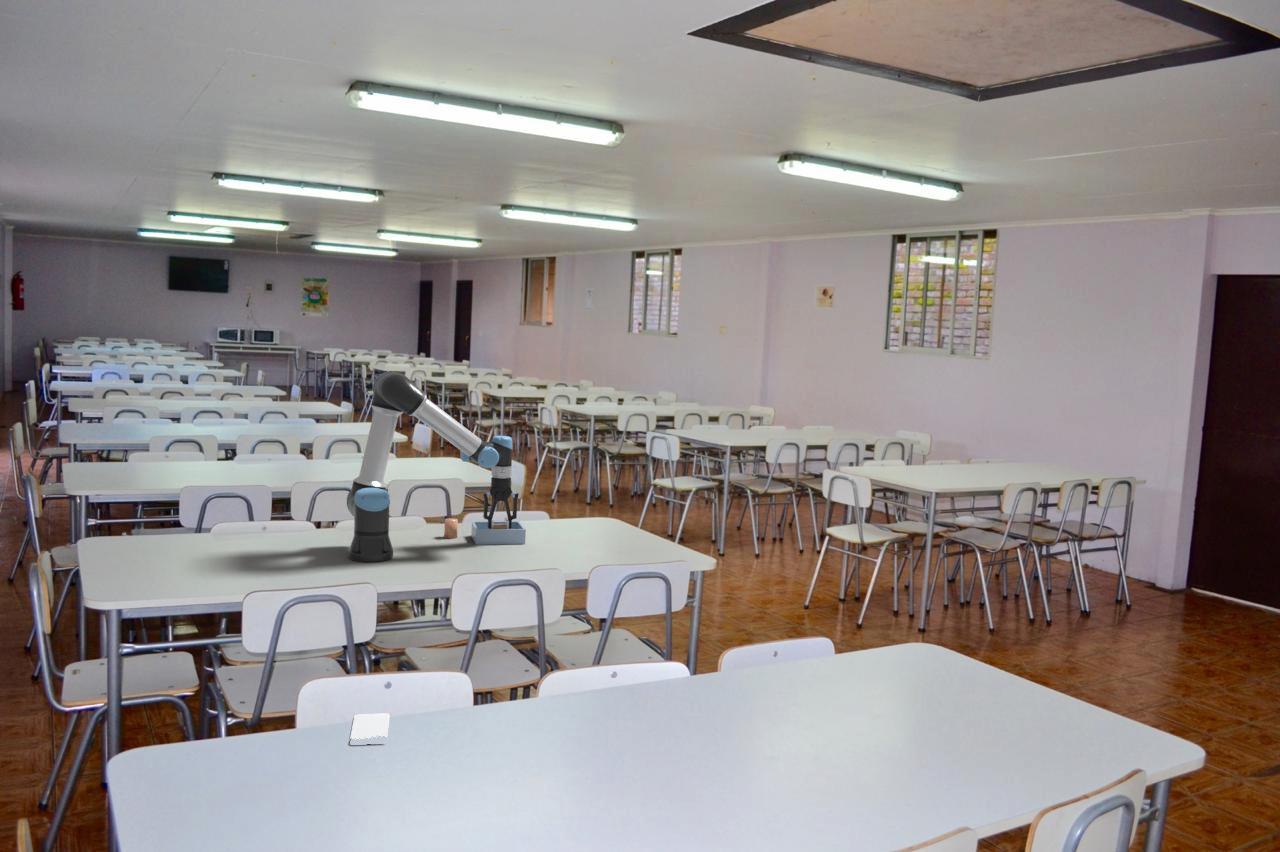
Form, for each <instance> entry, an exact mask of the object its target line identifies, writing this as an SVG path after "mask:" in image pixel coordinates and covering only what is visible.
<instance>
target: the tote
mask: <svg viewBox="0 0 1280 852" xmlns="http://www.w3.org/2000/svg"><path fill="white" fill-rule="evenodd" d="M493 521H494V524H506V520H504V521H502V520H501V521H500V520H498V521H495V520H493ZM470 533H471V538H472V540H473V542H474V543H475V546H477V545H478V546H480V545H485V546H486V545H490V546H491V545H525V544H526V536H527V535H526V528H525V527H524V525H523V524H522V523H521V521H519V520H517V521H514V520H512V524H511V529H489V528H488V521H471V532H470Z"/></svg>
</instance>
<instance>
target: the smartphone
mask: <svg viewBox="0 0 1280 852" xmlns="http://www.w3.org/2000/svg"><path fill="white" fill-rule="evenodd" d="M390 716H391V715H390V713H388V712H382V713H381V712H380V713H359V714H355V715H353V721H352V727H351V732H350V737H349V740H350V739H351V738H352V739H355V738H356V739H359V738H360V739H365V738H368V739H369V738H371V737H372V736H373V737H376V736H377V735H378V736H381V737H382V736H385V737H389V736H388V735H389V729H388V728H389V727H390V718H391V717H390ZM378 736H377V737H378ZM364 737H365V738H364ZM373 737H372V738H373ZM377 737H376V738H377ZM356 739H355V740H356ZM360 739H359V740H360Z"/></svg>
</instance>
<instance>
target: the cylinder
mask: <svg viewBox="0 0 1280 852" xmlns="http://www.w3.org/2000/svg"><path fill="white" fill-rule="evenodd" d="M458 521H459V519H458V518H453V517H451V518H450V517H449V518H444V530H443V531H444V532H443V533H444V535H443V538H444V539H448V540H453V539H457V538H458V531H459V529H458V526H459V522H458Z"/></svg>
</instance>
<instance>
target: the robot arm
mask: <svg viewBox="0 0 1280 852" xmlns="http://www.w3.org/2000/svg"><path fill="white" fill-rule="evenodd" d="M372 392H373V396H372V398H371V399H372V400H371V403H370V405H371V408H372V410H373V414H372V419H371V423H370V428H369V432H368V435H367V436H368V437H367V440H366V444H365V449H364V454H363V457H362V462H361V466H360V470H359V475H358V476H357V477H356V478H354V479H353V481H352V485H351V489H350V491H349V492H348V494H347V497H346V507H347V509H348V512H349V513H350V514H351V515H352V516H353V517H354V520H353V521H354V522H353V523H354V524H353V526H354V528H353V529H354V530H353V533H354V534H353V537H352V540H351V542H350V543H351V544H350V546H349V549H348V558H349V559H350V560H352V561H356V562H362V563H363V562H365V563H371V562H372V563H374V562H375V563H376V562H385V561H388V560H391V559H393V558H394V548H393V544H392V541H391V537H390V533H389V531H390V504H391V499H390V493H389V492H388V491H387V485H386V483H385V482H384V479H385V475H386V471H387V466H388V463H389V462H388V461H389V457H390V452H391V450H392V449H391V448H392V445H393V442H394V441H393V440H394V435H395V431H396V428H397V423H398V418H399V417H400V416H401V415H402V414H406V415H407V416H409V417H412V416H414V417H415V418H416V419H417V420H419V421H420V422H421V423H423V424H425V425H426V426H427V427H428V428H430V429H431V430H433V431H434V432H435V433H436V434H438V435H439V436H441V437H442V438H444V439H445V440H446V441H447V442H448V443H450V444H451V445H452V446H454V447H455V448H457V450H459V453H460V454H459V456H460V460H461V461H462V462H465V463H467V462H468V463H475V464H478V465H479V466H481V467H482V468H485V469H491V474H490V475H491V479H490V481H491V482H490V489H489V491H486V492H483V493H482V496H483V515H482V517H483V519H484V520H487V522H488V528H489V529H494V521H495V520H494V519H493V518H494V514H495V510H496V507H497V504H498V503H499V502H503V503H504V507H505V512H506V517H507V519H505V521H506V525H507V529H511V524H512V521H514V520H515V519H517V515H518V514H517V513H518V512H517V511H518V510H517V509H518V508H517V507H518V498H519V493H518V492H515V491H513V490H512V477H511V476H512V469H513V468H512V467H513V466H512V465H513V464H512V462H513V438H512V437H511V436H507V435H494V436H493V437H492V440H490V441H484V440H482V439H481V438H480V437H478V435H476V434H474V433H473V432H472V431H470V430H469V429H468V428H466V426H464V425H463V424H462V423H460V422H458V420H456V419H455V418H453V417H452V416H451V415H449V414H448V413H447V412H445V410H443V409H441V408H440V407H439V406H437V405H436V404H435V403H434V402H433V401H431V400H430V399H428V398H427V394H426V393H425V392H424V391H423V390H422V389H421V388H419V387H418V386H417V384H415V382H413V381H412V379H410V378H409V377H408V376H406V375H405V374H401V373H400V372H399V373H398V372H396V371H386V372H383V373H381V374H379V375H378V376H377V377H376V378H375V380H374V382H373V385H372ZM490 496H492V498H493V500H492V502H491V507H490V509H489V498H490ZM510 497H512V513H511V510H510V509H511V508H510V503H509V500H508V499H510ZM488 509H489V511H488ZM488 513H489V514H488Z"/></svg>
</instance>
